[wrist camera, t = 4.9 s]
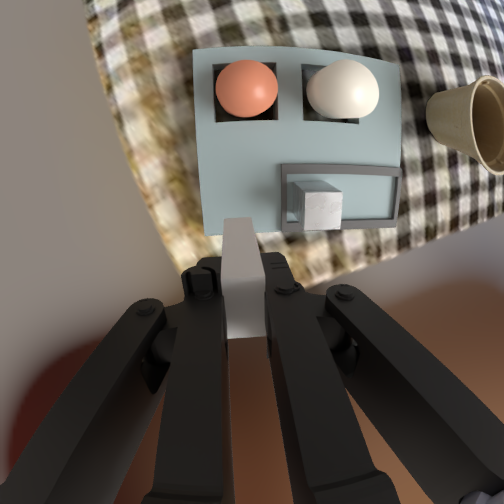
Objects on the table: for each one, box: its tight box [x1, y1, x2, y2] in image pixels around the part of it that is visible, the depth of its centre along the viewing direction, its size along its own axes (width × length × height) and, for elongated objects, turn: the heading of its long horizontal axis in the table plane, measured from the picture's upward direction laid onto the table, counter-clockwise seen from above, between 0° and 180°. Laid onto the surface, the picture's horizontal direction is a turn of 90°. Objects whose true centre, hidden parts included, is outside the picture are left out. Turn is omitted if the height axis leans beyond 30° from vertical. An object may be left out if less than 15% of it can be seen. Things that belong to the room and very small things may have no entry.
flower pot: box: [426, 75, 504, 175], centre depth 18 cm, size 9×9×9 cm
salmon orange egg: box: [216, 60, 278, 118], centre depth 19 cm, size 4×4×4 cm
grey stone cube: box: [293, 181, 343, 231], centre depth 21 cm, size 3×3×4 cm
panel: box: [193, 46, 402, 236], centre depth 22 cm, size 16×18×3 cm
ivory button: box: [306, 59, 379, 119], centre depth 17 cm, size 4×4×4 cm
